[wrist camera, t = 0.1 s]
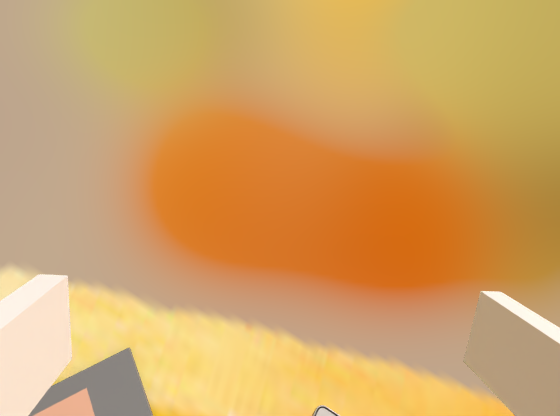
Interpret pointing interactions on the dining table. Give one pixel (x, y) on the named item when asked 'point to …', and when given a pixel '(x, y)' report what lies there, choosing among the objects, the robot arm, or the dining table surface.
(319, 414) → the smartphone
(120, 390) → the mat
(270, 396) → the dining table surface
